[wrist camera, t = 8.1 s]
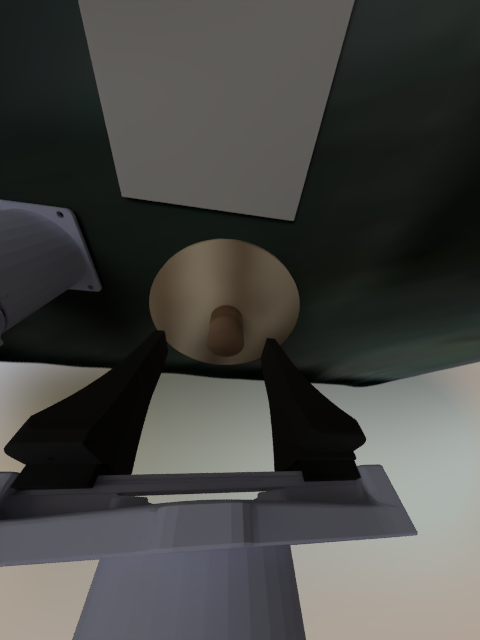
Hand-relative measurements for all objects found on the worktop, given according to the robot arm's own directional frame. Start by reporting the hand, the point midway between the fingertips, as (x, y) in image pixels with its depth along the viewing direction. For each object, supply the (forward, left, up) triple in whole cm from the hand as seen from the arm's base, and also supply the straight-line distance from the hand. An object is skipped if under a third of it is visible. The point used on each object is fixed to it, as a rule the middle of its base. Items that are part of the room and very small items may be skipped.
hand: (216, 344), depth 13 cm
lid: (+1, -1, -5) cm, 5 cm away
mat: (-1, +15, -10) cm, 18 cm away
